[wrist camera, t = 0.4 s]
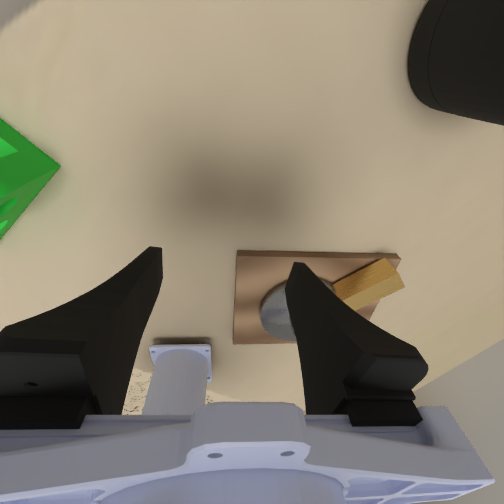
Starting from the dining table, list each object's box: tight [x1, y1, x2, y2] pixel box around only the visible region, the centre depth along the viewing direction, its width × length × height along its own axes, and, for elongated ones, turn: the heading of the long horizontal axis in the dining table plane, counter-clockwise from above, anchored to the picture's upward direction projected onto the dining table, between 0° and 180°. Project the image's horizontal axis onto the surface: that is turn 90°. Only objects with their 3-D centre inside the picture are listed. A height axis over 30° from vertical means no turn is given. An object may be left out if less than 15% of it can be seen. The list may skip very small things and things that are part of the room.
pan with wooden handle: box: [260, 258, 405, 341], centre depth 28 cm, size 16×10×3 cm, turn 126°
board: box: [233, 251, 401, 344], centre depth 29 cm, size 15×18×4 cm
